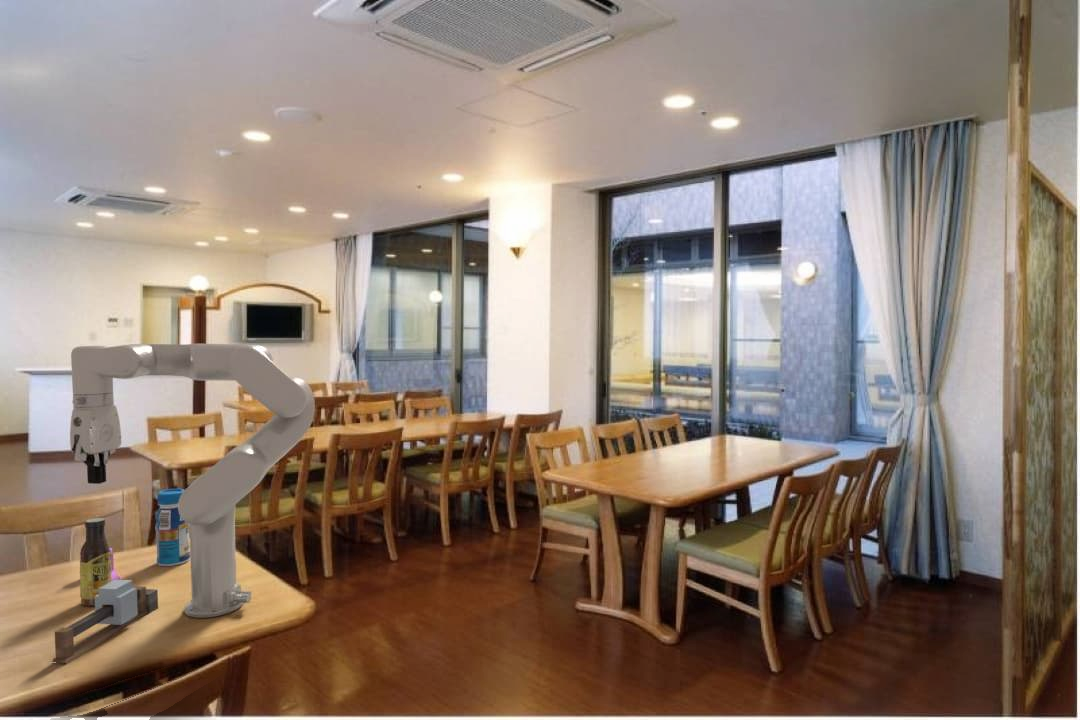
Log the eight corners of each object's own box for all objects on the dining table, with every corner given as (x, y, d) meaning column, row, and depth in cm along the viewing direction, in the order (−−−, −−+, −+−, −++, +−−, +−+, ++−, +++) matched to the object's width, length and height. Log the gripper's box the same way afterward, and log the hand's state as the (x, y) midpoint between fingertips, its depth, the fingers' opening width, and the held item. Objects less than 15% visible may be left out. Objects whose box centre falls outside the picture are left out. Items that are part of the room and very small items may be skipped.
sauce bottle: (96, 608, 157) (92, 525, 156) (74, 606, 158) (70, 523, 157) (119, 597, 164) (115, 517, 162) (97, 595, 165) (94, 515, 164)
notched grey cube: (137, 614, 149) (136, 580, 149) (121, 624, 144) (120, 589, 144) (112, 613, 150) (111, 579, 149) (95, 623, 145) (94, 588, 144)
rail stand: (158, 607, 157) (157, 580, 157) (69, 664, 132) (67, 631, 131) (142, 607, 158) (141, 580, 158) (50, 663, 132) (49, 631, 132)
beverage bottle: (151, 562, 187) (148, 491, 186) (183, 554, 194) (180, 485, 193) (163, 569, 182) (161, 496, 181) (195, 561, 188) (193, 490, 187)
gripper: (82, 405, 142) (86, 491, 143) (133, 397, 156) (136, 475, 157) (50, 405, 142) (54, 490, 143) (103, 397, 157) (106, 474, 158)
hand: (97, 482), depth 150 cm, fingers closed
